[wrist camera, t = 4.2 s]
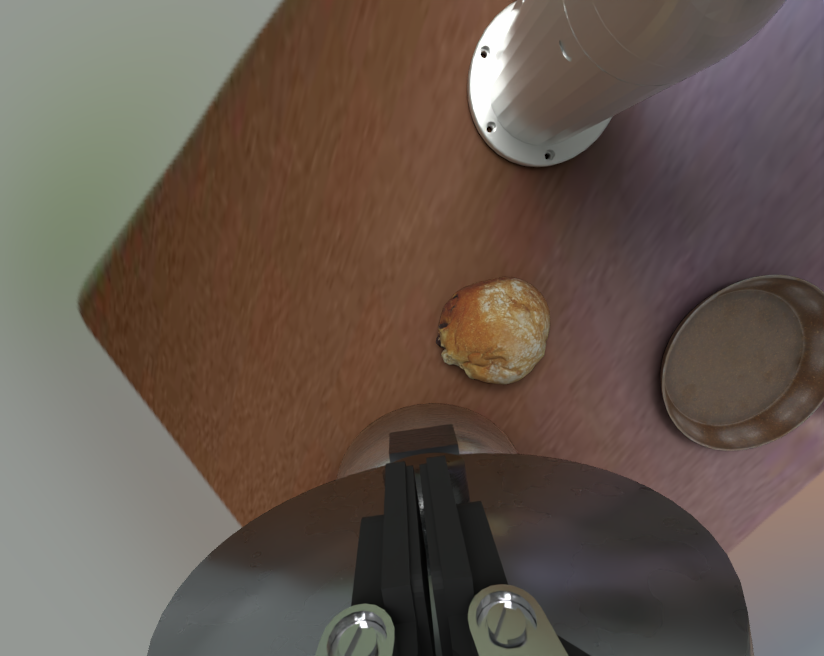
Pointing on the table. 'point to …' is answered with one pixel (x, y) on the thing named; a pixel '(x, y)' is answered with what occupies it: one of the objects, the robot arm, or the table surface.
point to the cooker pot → (423, 436)
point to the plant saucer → (747, 363)
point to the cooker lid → (518, 550)
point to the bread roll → (495, 329)
